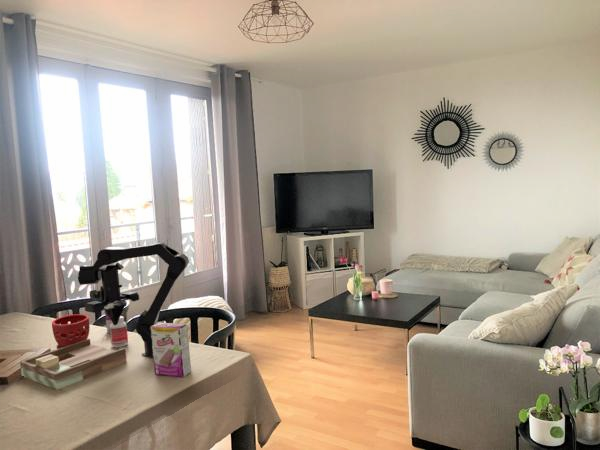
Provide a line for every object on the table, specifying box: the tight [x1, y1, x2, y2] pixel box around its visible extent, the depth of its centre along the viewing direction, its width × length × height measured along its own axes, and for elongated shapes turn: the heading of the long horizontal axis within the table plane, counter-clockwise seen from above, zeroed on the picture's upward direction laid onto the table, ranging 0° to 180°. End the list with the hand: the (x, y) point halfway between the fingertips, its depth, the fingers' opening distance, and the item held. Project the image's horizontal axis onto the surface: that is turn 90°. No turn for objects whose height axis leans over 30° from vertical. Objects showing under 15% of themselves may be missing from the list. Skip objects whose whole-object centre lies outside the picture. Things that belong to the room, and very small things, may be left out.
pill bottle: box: [110, 315, 129, 348], centre depth 193 cm, size 6×6×11 cm
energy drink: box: [104, 310, 112, 333], centre depth 212 cm, size 5×5×12 cm
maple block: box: [36, 354, 60, 371], centre depth 164 cm, size 5×5×4 cm
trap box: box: [19, 338, 128, 391], centre depth 171 cm, size 23×25×5 cm
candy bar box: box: [150, 321, 192, 378], centre depth 161 cm, size 11×5×16 cm, turn 71°
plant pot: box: [51, 313, 90, 350], centre depth 192 cm, size 13×13×12 cm
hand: (115, 324), depth 179 cm, fingers closed
